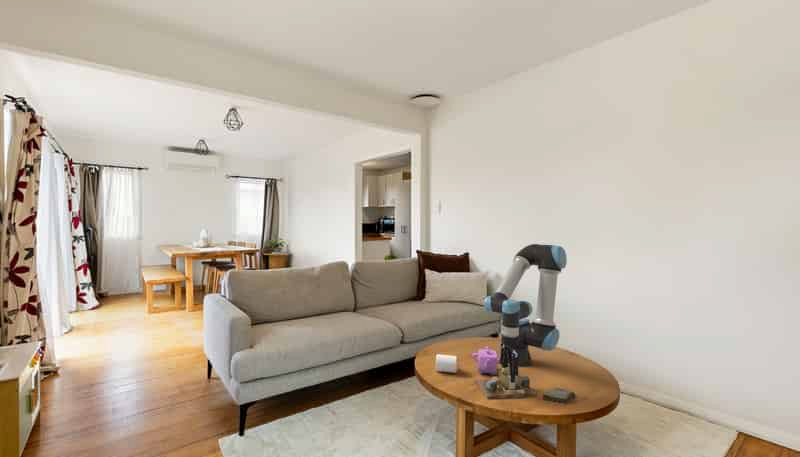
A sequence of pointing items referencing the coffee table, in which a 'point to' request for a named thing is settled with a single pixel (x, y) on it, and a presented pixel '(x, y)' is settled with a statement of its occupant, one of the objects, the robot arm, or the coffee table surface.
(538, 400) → the coffee table surface
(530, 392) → the framed base plate
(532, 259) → the robot arm
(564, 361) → the coffee table surface
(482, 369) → the teapot
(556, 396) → the stone
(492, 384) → the shafts
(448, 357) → the mug
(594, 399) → the coffee table surface
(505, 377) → the gold cube
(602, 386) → the coffee table surface
